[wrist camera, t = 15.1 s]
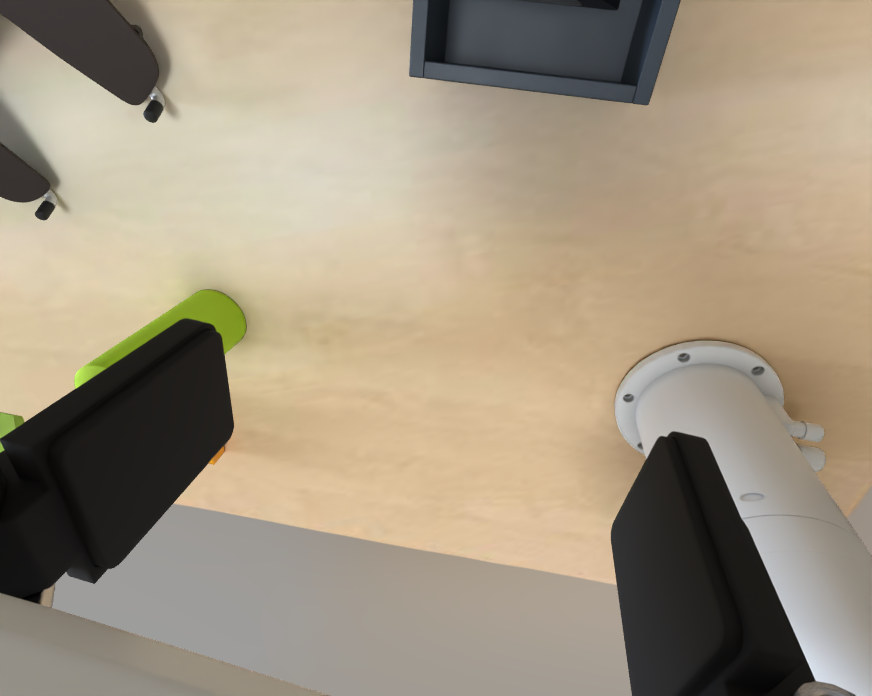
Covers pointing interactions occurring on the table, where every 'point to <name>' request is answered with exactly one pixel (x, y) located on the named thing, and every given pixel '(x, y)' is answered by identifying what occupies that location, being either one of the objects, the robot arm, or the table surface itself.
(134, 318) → the table surface
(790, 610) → the robot arm
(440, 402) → the table surface
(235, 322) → the soap dispenser
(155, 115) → the laptop tray
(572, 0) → the phone stand
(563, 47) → the tote
